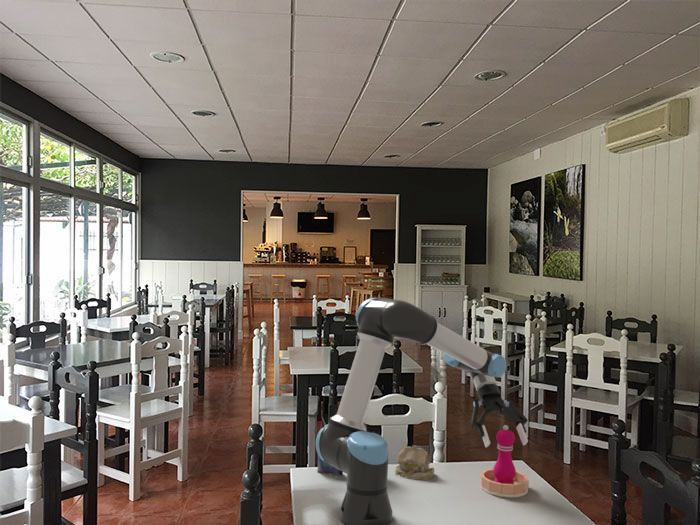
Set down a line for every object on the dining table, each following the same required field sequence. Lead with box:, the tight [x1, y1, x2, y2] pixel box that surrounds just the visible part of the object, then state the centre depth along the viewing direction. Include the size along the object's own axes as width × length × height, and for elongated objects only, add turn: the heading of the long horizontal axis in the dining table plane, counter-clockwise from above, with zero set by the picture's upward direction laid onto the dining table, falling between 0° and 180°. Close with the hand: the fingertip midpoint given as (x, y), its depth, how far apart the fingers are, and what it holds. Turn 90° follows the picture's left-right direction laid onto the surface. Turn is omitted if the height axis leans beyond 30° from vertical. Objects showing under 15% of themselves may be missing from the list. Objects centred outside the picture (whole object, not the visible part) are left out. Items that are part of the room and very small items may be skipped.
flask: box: [316, 454, 344, 476], centre depth 209 cm, size 9×3×11 cm, turn 72°
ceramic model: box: [394, 444, 435, 480], centre depth 211 cm, size 14×11×10 cm
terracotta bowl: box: [479, 467, 530, 499], centre depth 198 cm, size 15×15×4 cm
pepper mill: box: [492, 424, 517, 484], centre depth 198 cm, size 7×7×20 cm
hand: (506, 444), depth 198 cm, fingers open, 13 cm apart
